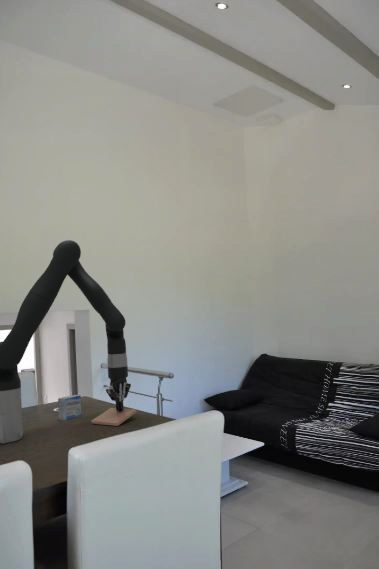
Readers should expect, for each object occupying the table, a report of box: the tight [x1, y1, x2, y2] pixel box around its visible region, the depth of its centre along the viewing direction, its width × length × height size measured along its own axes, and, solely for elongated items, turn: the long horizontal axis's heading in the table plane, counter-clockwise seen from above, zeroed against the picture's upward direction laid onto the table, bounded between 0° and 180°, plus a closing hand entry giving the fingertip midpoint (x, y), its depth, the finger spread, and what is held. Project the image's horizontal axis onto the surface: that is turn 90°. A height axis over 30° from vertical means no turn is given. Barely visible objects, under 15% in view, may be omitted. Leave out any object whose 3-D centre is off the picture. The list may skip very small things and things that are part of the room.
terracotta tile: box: [91, 407, 137, 427], centre depth 176 cm, size 1×12×12 cm
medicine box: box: [57, 394, 82, 421], centre depth 187 cm, size 8×4×9 cm, turn 143°
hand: (119, 410), depth 179 cm, fingers closed
